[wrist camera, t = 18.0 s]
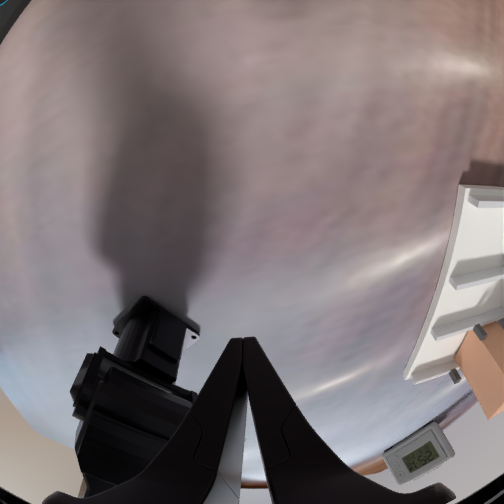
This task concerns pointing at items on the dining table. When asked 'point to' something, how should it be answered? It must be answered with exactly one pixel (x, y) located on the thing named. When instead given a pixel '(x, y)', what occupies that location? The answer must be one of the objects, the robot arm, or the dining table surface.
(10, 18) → the smart home device
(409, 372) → the base
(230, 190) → the dining table surface
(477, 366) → the tall tan brick
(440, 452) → the digital clock
